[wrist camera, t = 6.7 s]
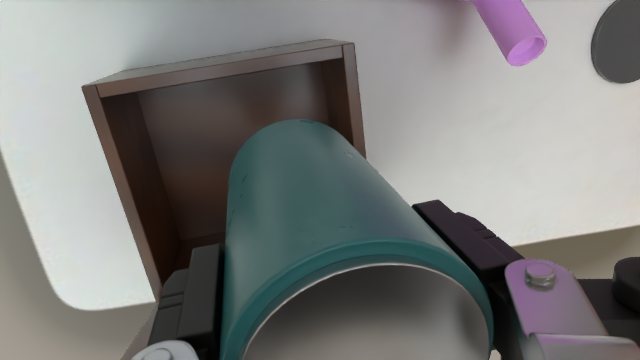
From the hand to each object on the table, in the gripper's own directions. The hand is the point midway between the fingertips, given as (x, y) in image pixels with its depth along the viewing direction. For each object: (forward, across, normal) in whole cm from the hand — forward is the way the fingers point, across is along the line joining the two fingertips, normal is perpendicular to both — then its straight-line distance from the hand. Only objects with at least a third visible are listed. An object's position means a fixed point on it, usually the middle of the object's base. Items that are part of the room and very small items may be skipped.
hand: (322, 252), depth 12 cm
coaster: (+20, -30, -1) cm, 36 cm away
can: (+5, 0, 0) cm, 5 cm away
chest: (+20, +2, +2) cm, 20 cm away
